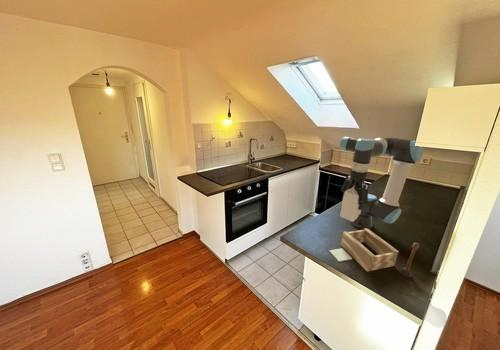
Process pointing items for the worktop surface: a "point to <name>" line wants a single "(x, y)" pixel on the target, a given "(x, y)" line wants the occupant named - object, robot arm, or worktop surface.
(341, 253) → the place mat
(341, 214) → the milk carton
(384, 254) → the crate
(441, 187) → the worktop surface
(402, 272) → the wooden tabletop sculpture
